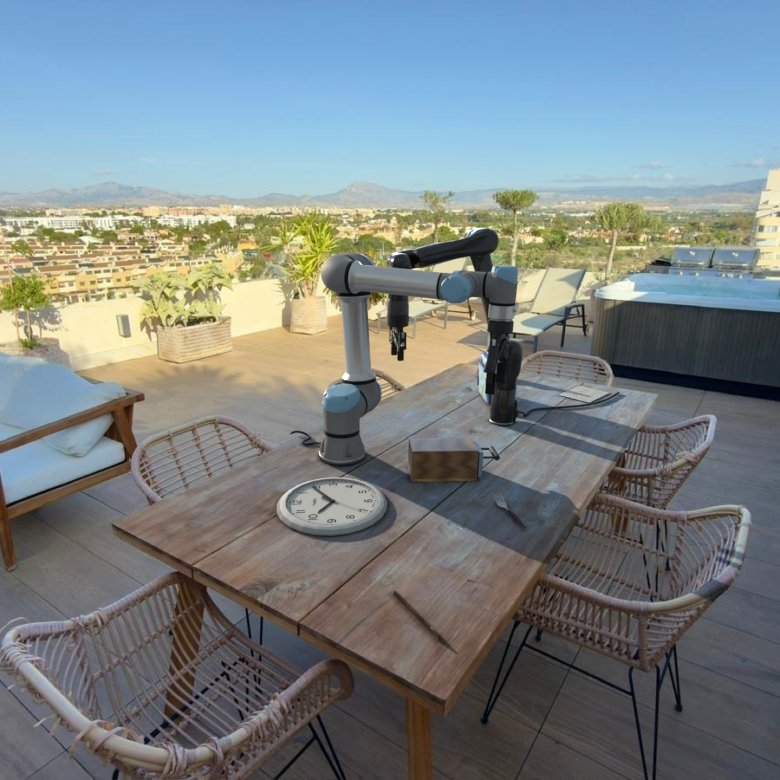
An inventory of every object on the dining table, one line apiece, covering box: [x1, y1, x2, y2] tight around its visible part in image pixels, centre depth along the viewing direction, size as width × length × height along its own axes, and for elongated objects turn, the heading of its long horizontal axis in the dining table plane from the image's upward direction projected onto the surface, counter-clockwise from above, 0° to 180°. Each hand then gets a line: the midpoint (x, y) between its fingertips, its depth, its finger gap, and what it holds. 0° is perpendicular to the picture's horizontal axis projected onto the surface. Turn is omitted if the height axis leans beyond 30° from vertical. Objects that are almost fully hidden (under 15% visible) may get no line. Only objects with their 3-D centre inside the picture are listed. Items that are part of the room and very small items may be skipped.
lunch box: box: [476, 351, 500, 406], centre depth 230 cm, size 26×11×21 cm, turn 179°
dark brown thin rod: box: [392, 590, 441, 641], centre depth 102 cm, size 15×1×1 cm, turn 34°
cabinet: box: [407, 437, 479, 483], centre depth 161 cm, size 20×10×10 cm, turn 94°
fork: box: [493, 492, 526, 529], centre depth 140 cm, size 3×16×2 cm, turn 15°
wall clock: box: [276, 476, 388, 537], centre depth 142 cm, size 30×2×30 cm
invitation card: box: [558, 385, 610, 404], centre depth 243 cm, size 21×1×15 cm
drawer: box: [473, 440, 501, 478], centre depth 161 cm, size 24×9×8 cm, turn 94°
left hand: (495, 388), depth 161 cm, fingers open, 13 cm apart
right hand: (397, 357), depth 186 cm, fingers open, 8 cm apart
